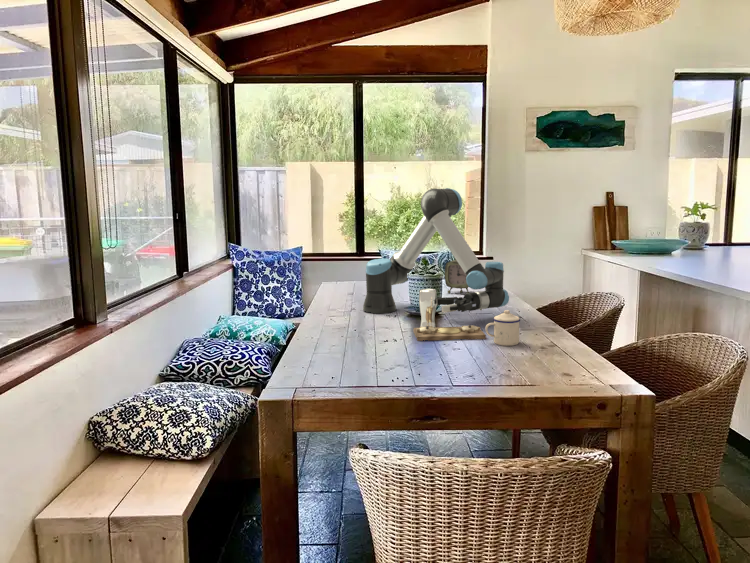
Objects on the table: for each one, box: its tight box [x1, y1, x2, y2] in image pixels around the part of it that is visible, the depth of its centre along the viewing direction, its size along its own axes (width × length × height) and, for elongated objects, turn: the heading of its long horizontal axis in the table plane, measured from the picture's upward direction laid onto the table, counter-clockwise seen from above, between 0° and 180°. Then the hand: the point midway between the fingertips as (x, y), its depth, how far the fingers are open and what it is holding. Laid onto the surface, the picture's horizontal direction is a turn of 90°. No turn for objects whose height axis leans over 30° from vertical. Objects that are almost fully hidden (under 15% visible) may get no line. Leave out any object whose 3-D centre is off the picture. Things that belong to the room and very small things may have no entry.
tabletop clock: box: [444, 258, 471, 294], centre depth 298 cm, size 14×9×25 cm, turn 62°
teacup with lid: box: [484, 309, 521, 347], centre depth 197 cm, size 12×9×12 cm
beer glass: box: [418, 288, 438, 328], centre depth 223 cm, size 7×7×15 cm
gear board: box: [413, 324, 487, 342], centre depth 210 cm, size 25×14×4 cm, turn 92°
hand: (432, 306), depth 223 cm, fingers open, 13 cm apart
